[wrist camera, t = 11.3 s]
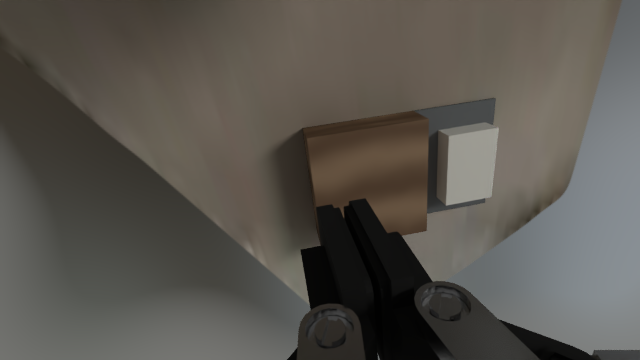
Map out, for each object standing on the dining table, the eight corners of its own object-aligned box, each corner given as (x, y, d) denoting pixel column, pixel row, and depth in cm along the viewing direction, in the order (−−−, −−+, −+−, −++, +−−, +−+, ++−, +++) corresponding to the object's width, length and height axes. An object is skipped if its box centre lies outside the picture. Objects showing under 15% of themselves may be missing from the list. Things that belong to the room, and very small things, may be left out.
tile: (498, 127, 38) (485, 122, 40) (448, 136, 37) (438, 130, 40) (491, 197, 42) (479, 188, 44) (446, 205, 41) (436, 196, 43)
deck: (302, 128, 37) (306, 138, 34) (413, 110, 38) (428, 118, 35) (317, 232, 43) (322, 250, 39) (413, 214, 44) (426, 230, 41)
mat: (413, 110, 38) (414, 111, 38) (494, 98, 39) (495, 98, 39) (413, 214, 44) (414, 215, 44) (483, 201, 45) (484, 202, 45)
